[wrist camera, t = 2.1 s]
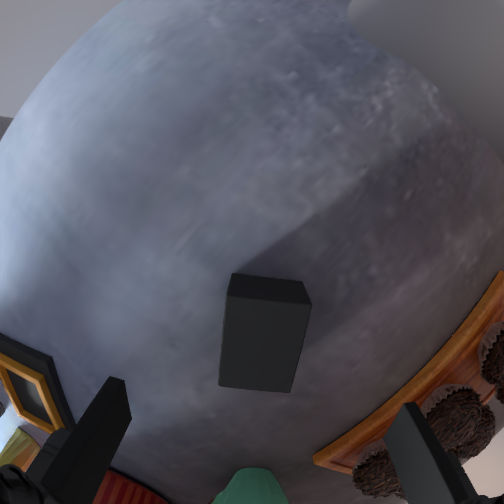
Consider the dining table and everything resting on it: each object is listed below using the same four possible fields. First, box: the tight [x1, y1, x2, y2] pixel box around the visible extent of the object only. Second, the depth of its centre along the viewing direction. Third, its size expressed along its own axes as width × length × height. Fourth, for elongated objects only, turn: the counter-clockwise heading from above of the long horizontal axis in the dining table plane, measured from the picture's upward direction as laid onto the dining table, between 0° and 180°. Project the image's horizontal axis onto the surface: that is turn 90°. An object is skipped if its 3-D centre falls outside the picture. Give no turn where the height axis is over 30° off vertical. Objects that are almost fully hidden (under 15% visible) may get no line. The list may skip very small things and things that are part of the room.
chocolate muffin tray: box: [313, 270, 504, 500], centre depth 19 cm, size 28×17×8 cm, turn 141°
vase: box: [0, 428, 41, 472], centre depth 22 cm, size 6×6×14 cm
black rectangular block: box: [218, 273, 312, 393], centre depth 19 cm, size 7×5×4 cm
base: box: [0, 333, 76, 434], centre depth 23 cm, size 16×12×2 cm
